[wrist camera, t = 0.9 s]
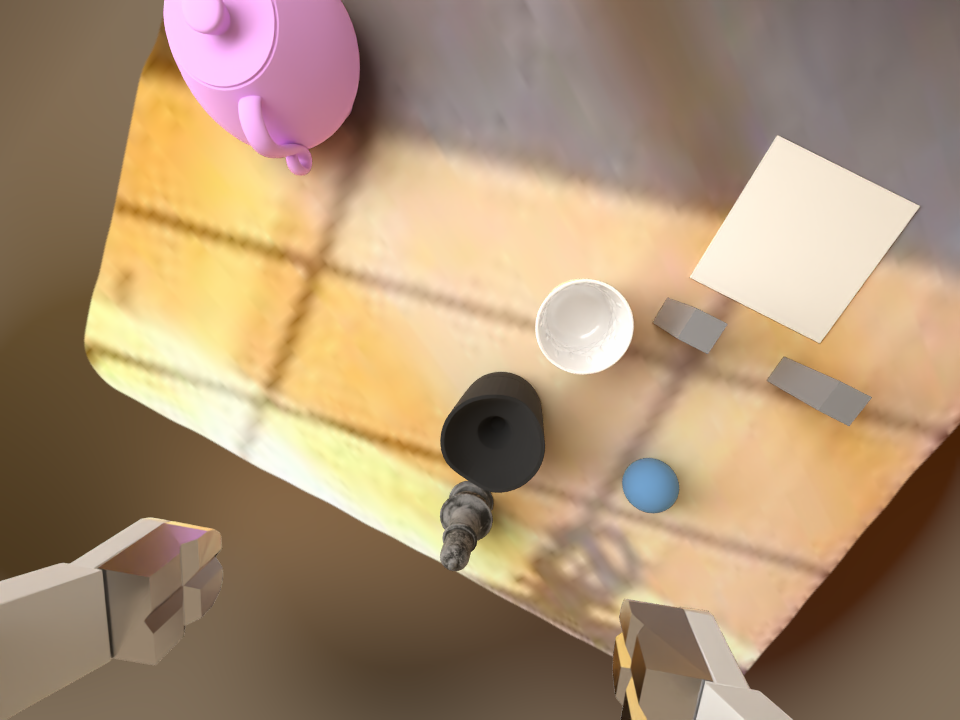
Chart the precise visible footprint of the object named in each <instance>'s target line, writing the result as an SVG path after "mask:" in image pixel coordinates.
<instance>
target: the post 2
mask: <svg viewBox="0 0 960 720" xmlns="http://www.w3.org/2000/svg"><path fill="white" fill-rule="evenodd" d="M767 381H768V382H770V383H772V384H773V385H775V386H777V387H779V388H780V389H782V390H784V391H785V392H787V393H789V394H791V395H792V396H794V397H796V398H798V399H799V400H801V401H803V402H804V403H806V404H808V405H810V406H811V407H813V408H815V409H816V410H818V411H820V412H822V413H824V414H826V415H828V416H830V417H832V418H834V419H836V420H838V421H840V422H842V423H844V424H846V425H848V426H850V425H851V423H852V422H853V421H854V419H855V418H856V417H857V416H858V414H859V413H860V412H861V411H862V409H863V408H864V407H865V406H866V404H867V403H868V402H869V401H870V399H871V398H872V397H870V396H868V395H866V394H864V393H862V392H860V391H858V390H856V389H854V388H852V387H850V386H848V385H847V384H845V383H843V382H841V381H838V380H836V379H834V378H832V377H829V376H827V375H825V374H822V373H820V372H818V371H816V370H813V369H811V368H809V367H806V366H804V365H802V364H800V363H797V362H795V361H793V360H790V359H788V358H786V357H783V358H782V360H781V361H780V363H779V364H778V365H777V367H776V368H775V370H774V371H773V372H772V374H771V375H770V377H769V378H768V379H767Z"/></svg>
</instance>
